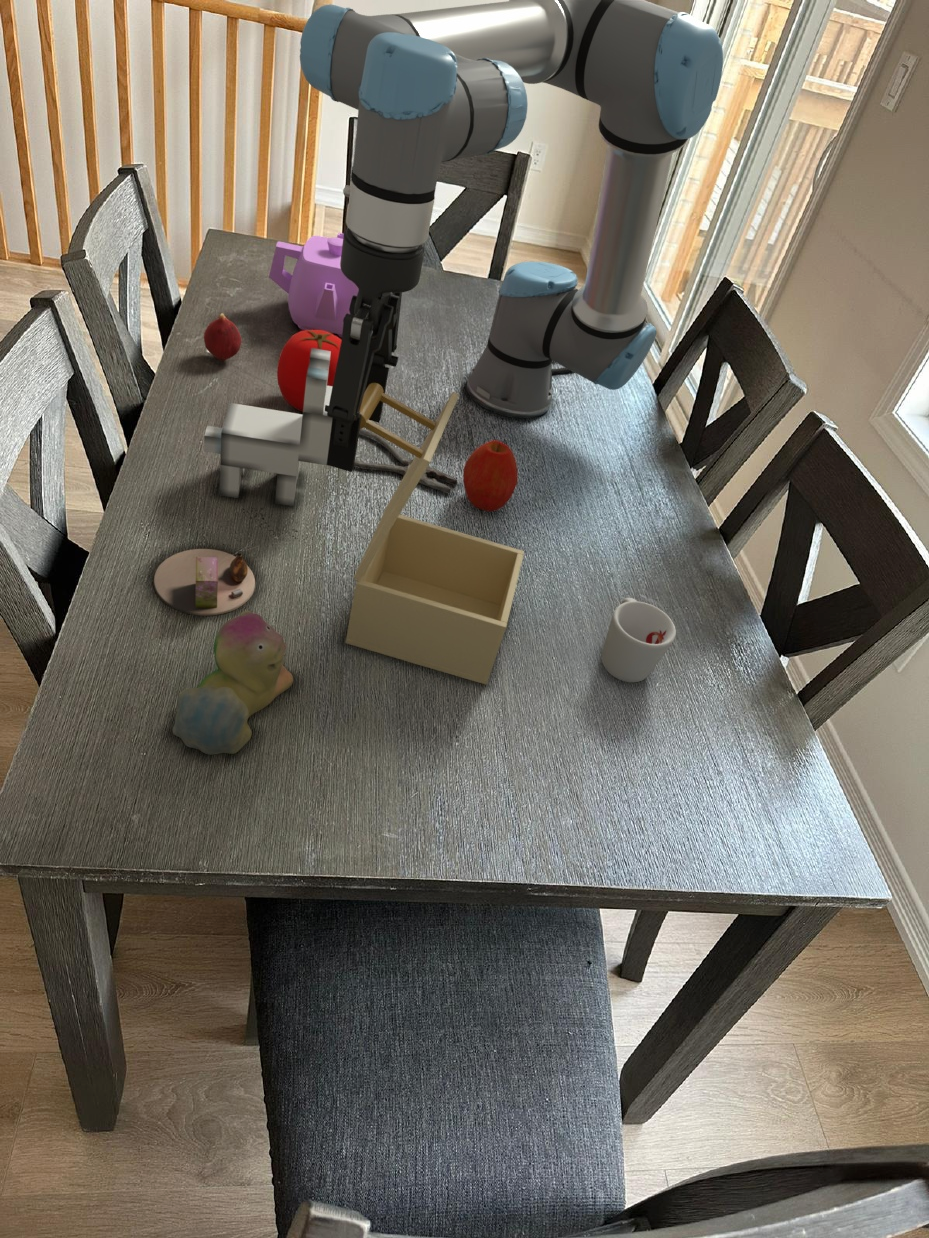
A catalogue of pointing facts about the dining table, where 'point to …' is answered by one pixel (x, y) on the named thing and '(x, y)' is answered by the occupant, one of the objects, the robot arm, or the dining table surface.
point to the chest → (436, 599)
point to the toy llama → (275, 436)
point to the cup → (636, 640)
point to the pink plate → (204, 582)
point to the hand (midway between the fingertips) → (354, 441)
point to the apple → (490, 476)
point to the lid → (422, 454)
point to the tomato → (304, 363)
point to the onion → (222, 338)
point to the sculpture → (233, 686)
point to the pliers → (407, 466)
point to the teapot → (315, 283)
